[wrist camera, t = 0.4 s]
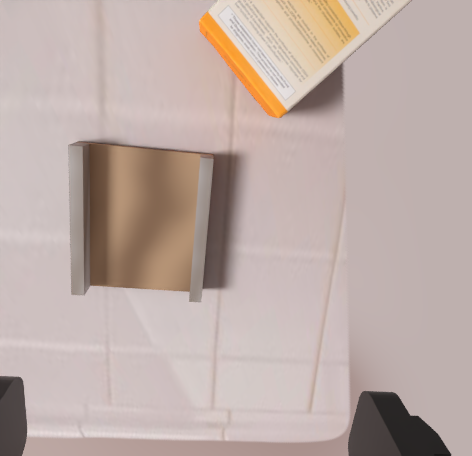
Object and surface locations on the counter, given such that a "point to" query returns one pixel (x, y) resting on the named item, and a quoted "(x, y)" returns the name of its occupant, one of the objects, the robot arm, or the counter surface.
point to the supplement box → (291, 42)
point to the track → (138, 217)
